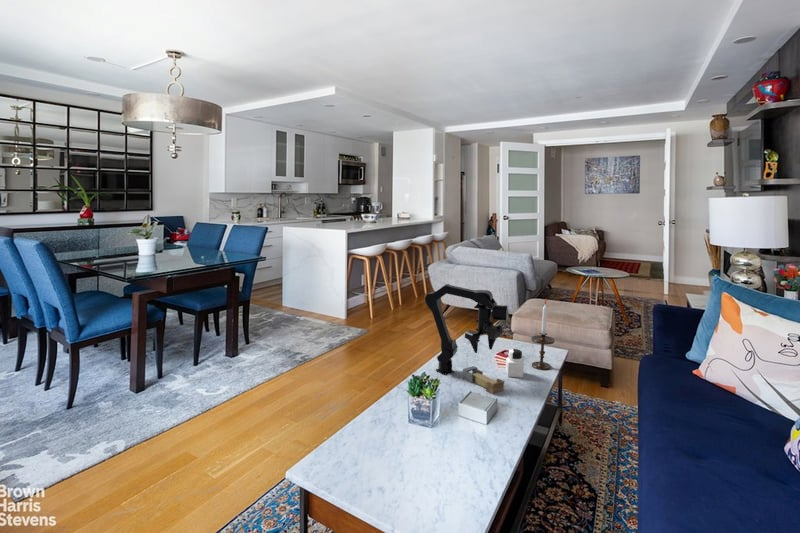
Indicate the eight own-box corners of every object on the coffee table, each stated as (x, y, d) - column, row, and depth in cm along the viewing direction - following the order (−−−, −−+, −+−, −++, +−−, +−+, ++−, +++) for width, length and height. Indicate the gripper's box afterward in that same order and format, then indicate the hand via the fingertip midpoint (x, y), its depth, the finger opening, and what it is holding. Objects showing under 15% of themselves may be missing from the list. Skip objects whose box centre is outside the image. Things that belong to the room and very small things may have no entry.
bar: (471, 380, 199) (471, 374, 199) (477, 378, 201) (478, 372, 201) (491, 391, 188) (492, 384, 188) (498, 389, 191) (498, 382, 190)
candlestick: (555, 371, 213) (560, 300, 207) (533, 370, 213) (537, 300, 208) (548, 362, 223) (553, 295, 218) (527, 362, 224) (531, 295, 218)
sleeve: (462, 378, 202) (463, 368, 202) (473, 375, 206) (473, 365, 205) (471, 383, 197) (471, 373, 197) (482, 380, 201) (482, 370, 200)
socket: (486, 391, 189) (486, 381, 189) (497, 387, 193) (498, 378, 192) (491, 394, 186) (492, 384, 186) (503, 390, 190) (504, 381, 190)
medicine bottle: (520, 371, 211) (521, 348, 209) (523, 377, 204) (524, 353, 202) (505, 371, 212) (506, 347, 210) (507, 377, 205) (508, 352, 203)
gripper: (481, 325, 187) (480, 360, 190) (512, 319, 197) (510, 352, 200) (464, 319, 197) (463, 352, 199) (494, 314, 207) (493, 345, 209)
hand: (483, 351), depth 201 cm, fingers open, 9 cm apart
